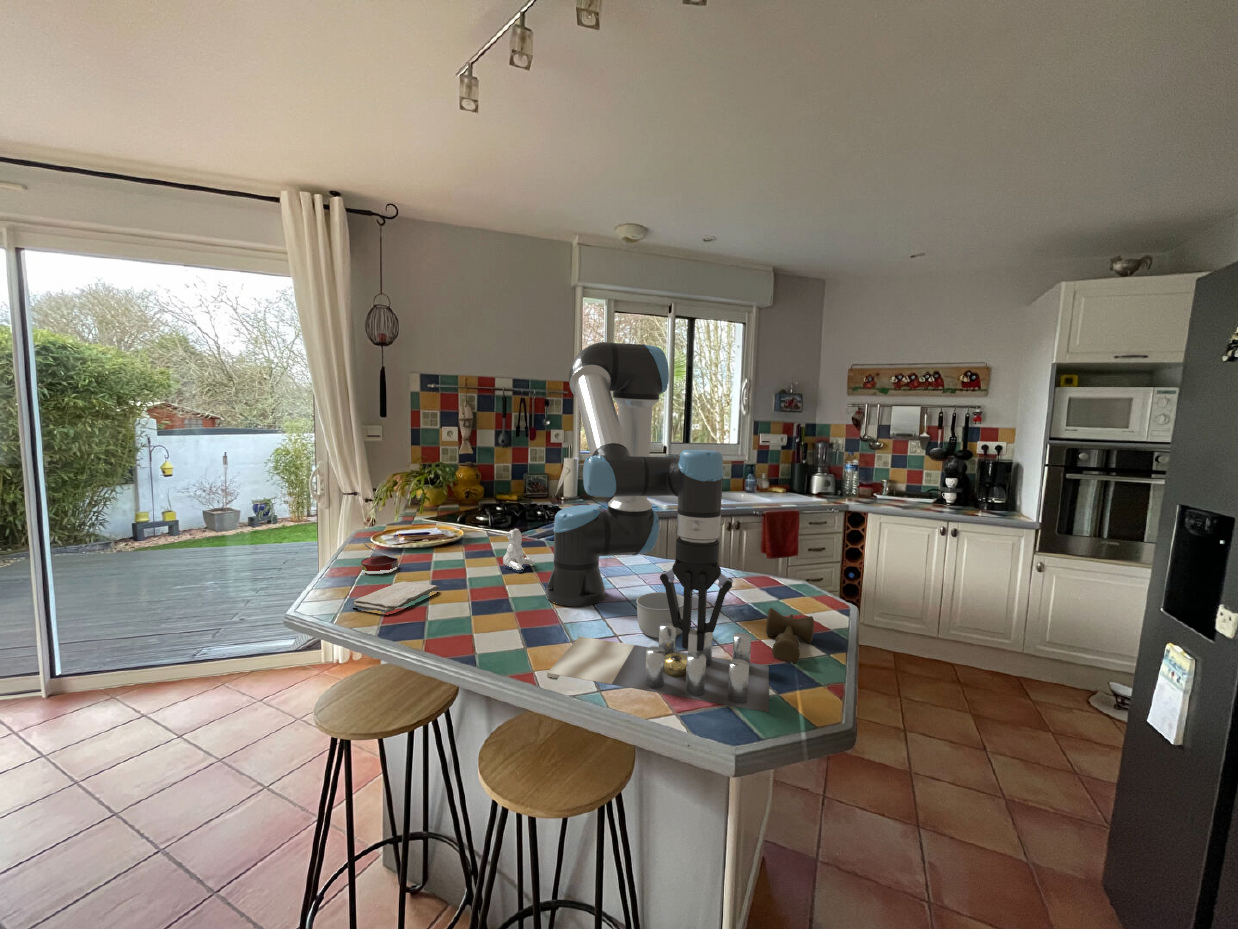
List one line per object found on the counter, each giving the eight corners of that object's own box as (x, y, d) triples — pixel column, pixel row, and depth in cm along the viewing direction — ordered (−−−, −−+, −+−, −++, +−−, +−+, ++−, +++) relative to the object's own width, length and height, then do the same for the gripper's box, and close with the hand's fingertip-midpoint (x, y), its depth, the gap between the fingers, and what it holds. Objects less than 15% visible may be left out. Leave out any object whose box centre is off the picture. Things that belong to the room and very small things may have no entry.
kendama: (758, 663, 100) (768, 623, 118) (811, 674, 96) (812, 631, 115) (761, 634, 99) (770, 598, 117) (813, 644, 95) (815, 606, 114)
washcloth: (348, 612, 119) (348, 599, 119) (402, 588, 136) (402, 577, 136) (390, 619, 116) (390, 606, 115) (440, 594, 133) (440, 582, 132)
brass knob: (663, 676, 91) (663, 663, 90) (664, 664, 95) (664, 651, 95) (688, 678, 90) (688, 665, 90) (687, 666, 94) (688, 653, 94)
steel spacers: (643, 687, 87) (644, 653, 86) (660, 651, 100) (661, 621, 100) (747, 705, 82) (748, 669, 82) (749, 665, 96) (751, 634, 95)
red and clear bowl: (367, 582, 153) (369, 549, 156) (402, 578, 154) (403, 546, 157) (352, 575, 142) (354, 540, 146) (389, 571, 143) (390, 537, 147)
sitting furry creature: (519, 574, 149) (520, 533, 148) (494, 570, 153) (495, 530, 151) (536, 565, 158) (536, 527, 157) (512, 562, 161) (512, 524, 160)
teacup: (672, 650, 103) (673, 612, 102) (626, 637, 108) (627, 600, 108) (699, 627, 114) (700, 593, 114) (656, 616, 120) (657, 583, 119)
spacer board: (547, 677, 91) (547, 672, 91) (578, 640, 106) (579, 636, 106) (768, 717, 80) (768, 712, 80) (768, 669, 96) (768, 665, 96)
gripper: (657, 539, 88) (652, 670, 90) (734, 546, 84) (727, 682, 86) (665, 530, 95) (660, 651, 97) (736, 536, 91) (730, 662, 94)
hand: (692, 666), depth 92 cm, fingers closed
